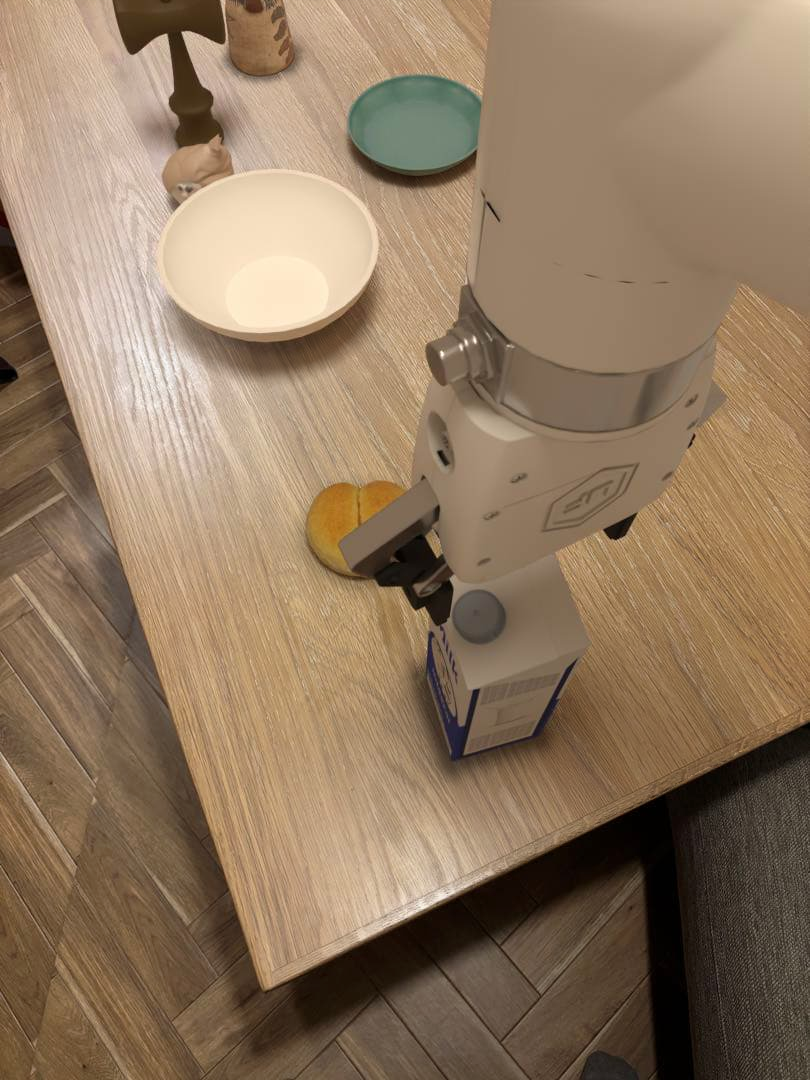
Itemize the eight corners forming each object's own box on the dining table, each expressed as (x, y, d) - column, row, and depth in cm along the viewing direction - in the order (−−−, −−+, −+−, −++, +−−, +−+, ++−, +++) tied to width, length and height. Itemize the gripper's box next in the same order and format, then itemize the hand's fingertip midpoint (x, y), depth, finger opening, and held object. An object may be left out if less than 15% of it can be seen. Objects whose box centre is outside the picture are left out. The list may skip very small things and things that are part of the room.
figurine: (294, 35, 100) (280, -77, 89) (294, 75, 97) (280, -37, 86) (232, 38, 100) (211, -75, 89) (230, 78, 97) (208, -34, 86)
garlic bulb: (205, 233, 86) (187, 166, 79) (159, 205, 88) (137, 137, 81) (250, 195, 88) (236, 127, 81) (204, 169, 90) (186, 99, 83)
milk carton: (540, 738, 63) (593, 645, 45) (452, 764, 62) (471, 679, 45) (508, 649, 66) (546, 530, 48) (424, 673, 65) (431, 559, 48)
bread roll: (307, 493, 73) (302, 468, 69) (414, 489, 73) (414, 464, 69) (306, 583, 69) (300, 561, 65) (418, 579, 69) (419, 557, 65)
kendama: (250, 152, 91) (212, -48, 73) (158, 167, 90) (97, -32, 72) (241, 115, 94) (203, -87, 76) (152, 129, 93) (92, -72, 75)
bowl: (133, 300, 82) (111, 246, 76) (286, 196, 88) (277, 138, 82) (268, 420, 76) (256, 372, 70) (423, 299, 82) (424, 244, 76)
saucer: (410, 77, 97) (410, 55, 94) (515, 135, 92) (517, 113, 90) (319, 146, 92) (317, 124, 89) (426, 211, 87) (426, 190, 85)
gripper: (385, 525, 23) (390, 703, 38) (888, 300, 27) (708, 545, 42) (273, 327, 26) (319, 566, 41) (740, 148, 30) (623, 429, 45)
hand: (515, 555), depth 42 cm, fingers open, 9 cm apart
